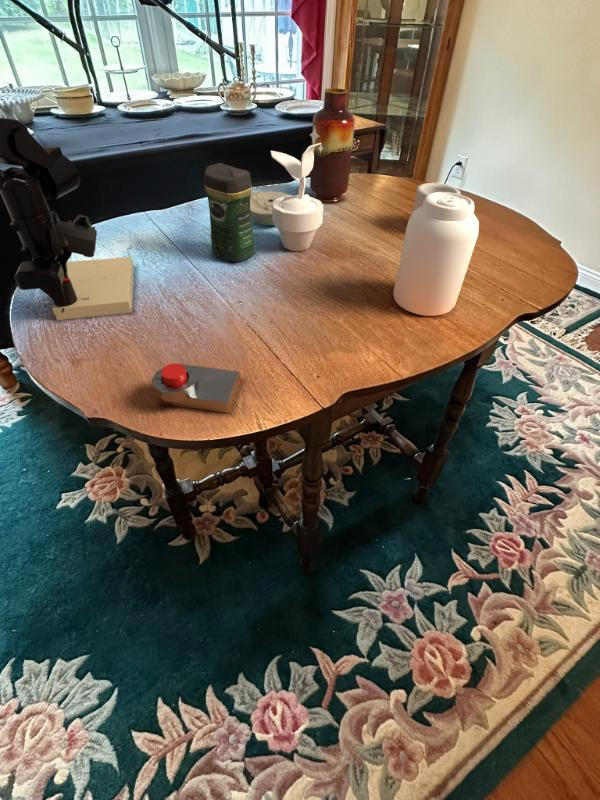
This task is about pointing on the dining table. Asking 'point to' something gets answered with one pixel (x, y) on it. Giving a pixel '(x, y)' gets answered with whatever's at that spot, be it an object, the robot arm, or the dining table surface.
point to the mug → (431, 188)
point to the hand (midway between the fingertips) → (64, 298)
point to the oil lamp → (263, 206)
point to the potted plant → (297, 203)
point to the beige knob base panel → (99, 288)
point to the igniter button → (174, 375)
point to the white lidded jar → (436, 254)
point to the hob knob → (68, 293)
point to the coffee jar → (230, 212)
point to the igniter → (201, 389)
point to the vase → (332, 147)
